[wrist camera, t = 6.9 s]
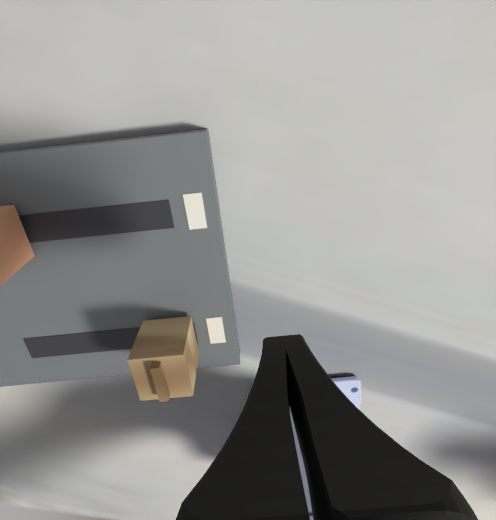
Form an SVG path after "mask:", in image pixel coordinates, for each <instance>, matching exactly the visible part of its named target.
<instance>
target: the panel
mask: <svg viewBox="0 0 496 520" xmlns="http://www.w3.org/2000/svg"><path fill="white" fill-rule="evenodd" d="M5 205H14V206H15V208H16V211H17V213H18V216H19V218H20V221H21V223H22V225H23V228H24V230H25V233H26V235H27V238H28V240H29V243H30V245H31V248H32V250H33V253H34V255H35V256H34V257H33V258H32V259H31V260H30V261H29V262H27V263H26V264H25V265H24V266H23V267H22V268H20V269H19V270H18V271H17V272H16V273H14V274H13V275H12V276H11V277H10V278H9V279H7V280H6V281H5V282H4V283H3V284H2V285H0V387H2V386H12V385H23V384H34V383H45V382H55V381H66V380H77V379H88V378H98V377H109V376H120V375H130V374H132V373H131V370H130V367H129V364H128V361H127V359H128V357H129V354H130V352H131V349H132V347H133V344H134V342H135V339H136V337H137V335H138V332H139V330H140V327H141V325H142V322H143V321H146V320H156V319H167V318H177V317H187V316H191V317H192V322H193V327H194V332H195V336H196V341H197V346H198V351H199V359H198V365H197V368H206V367H216V366H227V365H238V364H240V349H239V342H238V335H237V328H236V321H235V314H234V307H233V300H232V293H231V286H230V279H229V272H228V265H227V258H226V251H225V244H224V237H223V230H222V223H221V216H220V209H219V202H218V196H217V189H216V182H215V175H214V168H213V161H212V154H211V147H210V140H209V133H208V129H201V130H192V131H182V132H173V133H164V134H155V135H146V136H137V137H128V138H119V139H110V140H101V141H92V142H83V143H74V144H65V145H56V146H47V147H38V148H29V149H20V150H11V151H1V152H0V206H5Z"/></svg>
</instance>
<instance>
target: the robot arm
mask: <svg viewBox="0 0 496 520" xmlns="http://www.w3.org/2000/svg"><path fill="white" fill-rule="evenodd" d="M354 387H355V388H354ZM352 388H353V389H352ZM360 398H361V381H360V379H359V378H358V377H355V376H352V377H341V378H330V377H329V376H328V374H327V373H326V372H325V370H324V369H323V368H322V366H321V365H320V364H319V362H318V361H317V359H316V358H315V356H314V355H313V353H312V352H311V350H310V349H309V347H308V345H307V344H306V342H305V340H304V338H303V336H301V335H300V334H299V335H288V336H278V337H267V338H265V339H264V340H263V349H262V355H261V360H260V364H259V368H258V371H257V374H256V377H255V381H254V384H253V386H252V389H251V391H250V394H249V397H248V399H247V402H246V404H245V406H244V408H243V411H242V413H241V415H240V417H239V419H238V421H237V423H236V425H235V427H234V428H233V430H232V432H231V434H230V436H229V437H228V439H227V441H226V443H225V444H224V446H223V448H222V449H221V451H220V452H219V454H218V455H217V457H216V458H215V460H214V461H213V463H212V464H211V466H210V467H209V469H208V470H207V471H206V473H205V474H204V476H203V477H202V478H201V480H200V481H199V482H198V483H197V485H196V486H195V487H194V488H193V490H192V491H191V492H190V493H189V495H188V496H187V497H186V498H185V500H184V501H183V502H182V504H181V507H180V510H179V512H178V515H177V518H176V520H478V519H477V517H476V515H475V513H474V512H473V510H472V508H471V507H470V505H469V504H468V502H467V501H466V499H465V498H464V496H463V495H462V494H461V492H460V491H459V489H458V488H457V487H456V485H455V484H454V482H453V481H452V480H451V479H449V478H447V477H446V476H444V475H443V474H441V473H440V472H438V471H437V470H435V469H433V468H432V467H430V466H429V465H427V464H426V463H424V462H422V461H421V460H419V459H418V458H417V457H415V456H414V455H413V454H411V453H410V452H409V451H407V450H406V449H404V448H403V447H402V446H400V445H399V444H398V443H397V442H396V441H394V440H393V439H392V438H391V437H389V436H388V435H387V434H386V433H385V432H383V431H382V430H381V429H380V428H378V427H377V426H376V425H375V424H374V423H373V422H372V421H371V420H369V419H368V418H367V417H366V416H365V415H364V414H363V413H362V412H361V411H360Z"/></svg>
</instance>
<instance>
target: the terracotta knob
mask: <svg viewBox="0 0 496 520" xmlns="http://www.w3.org/2000/svg"><path fill="white" fill-rule="evenodd" d="M34 256H35V255H34V253H33V250H32V248H31V245H30V243H29V240H28V238H27V235H26V233H25V230H24V228H23V225H22V223H21V221H20V218H19V216H18V213H17V211H16V208H15V206H14V205H5V206H0V285H2V284H3V283H4V282H5V281H6V280H7V279H9V278H10V277H11V276H12V275H13V274H14V273H16V272H17V271H18V270H19V269H20V268H22V267H23V266H24V265H25V264H26V263H27V262H29V261H30V260H31V259H32V258H33V257H34Z"/></svg>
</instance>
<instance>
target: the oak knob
mask: <svg viewBox="0 0 496 520" xmlns="http://www.w3.org/2000/svg"><path fill="white" fill-rule="evenodd" d="M198 359H199V351H198V346H197V341H196V336H195V332H194V327H193V322H192V317H191V316H187V317H177V318H167V319H156V320H146V321H143V322H142V325H141V327H140V330H139V332H138V335H137V337H136V339H135V342H134V344H133V347H132V349H131V352H130V354H129V357H128V359H127V361H128V364H129V367H130V370H131V373H132V376H133V380H134V383H135V386H136V389H137V392H138V395H139V398H140V401H144V400H155V399H159V402H166V401H169V398H177V397H188V396H193V392H194V386H195V379H196V372H197V365H198Z"/></svg>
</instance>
